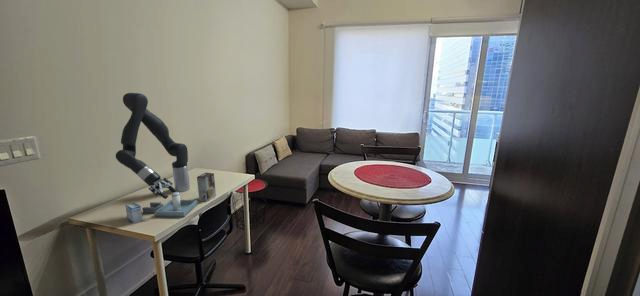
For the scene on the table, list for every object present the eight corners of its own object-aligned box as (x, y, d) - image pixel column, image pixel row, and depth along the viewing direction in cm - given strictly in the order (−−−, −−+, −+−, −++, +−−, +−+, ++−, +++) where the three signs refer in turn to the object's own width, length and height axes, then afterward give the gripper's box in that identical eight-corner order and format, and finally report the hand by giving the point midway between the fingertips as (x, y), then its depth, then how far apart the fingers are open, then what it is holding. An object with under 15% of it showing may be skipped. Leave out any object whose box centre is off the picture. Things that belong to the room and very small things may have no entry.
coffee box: (207, 195, 180) (205, 172, 177) (216, 196, 179) (214, 173, 175) (198, 200, 172) (196, 176, 168) (207, 201, 170) (205, 177, 166)
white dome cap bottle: (175, 207, 160) (173, 191, 157) (182, 207, 160) (180, 192, 157) (171, 210, 156) (169, 194, 153) (178, 210, 156) (177, 194, 153)
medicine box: (127, 219, 147) (124, 204, 145) (136, 216, 150) (134, 201, 148) (133, 223, 143) (131, 208, 141) (143, 220, 146) (140, 205, 144)
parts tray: (171, 204, 166) (171, 199, 165) (197, 204, 166) (197, 200, 165) (155, 216, 150) (155, 211, 150) (184, 217, 150) (183, 212, 149)
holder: (151, 206, 162) (151, 202, 161) (163, 207, 162) (162, 202, 161) (143, 212, 154) (142, 208, 154) (155, 213, 154) (154, 208, 154)
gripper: (144, 175, 146) (168, 195, 148) (160, 167, 160) (181, 186, 162) (136, 184, 147) (160, 204, 150) (152, 176, 161) (173, 194, 163)
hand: (171, 194), depth 156 cm, fingers open, 8 cm apart
